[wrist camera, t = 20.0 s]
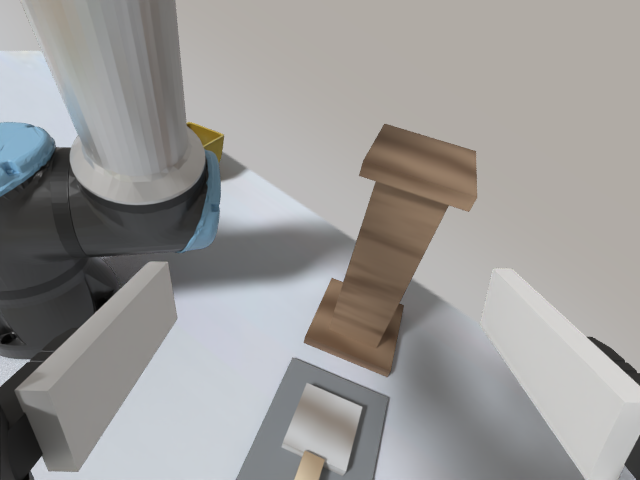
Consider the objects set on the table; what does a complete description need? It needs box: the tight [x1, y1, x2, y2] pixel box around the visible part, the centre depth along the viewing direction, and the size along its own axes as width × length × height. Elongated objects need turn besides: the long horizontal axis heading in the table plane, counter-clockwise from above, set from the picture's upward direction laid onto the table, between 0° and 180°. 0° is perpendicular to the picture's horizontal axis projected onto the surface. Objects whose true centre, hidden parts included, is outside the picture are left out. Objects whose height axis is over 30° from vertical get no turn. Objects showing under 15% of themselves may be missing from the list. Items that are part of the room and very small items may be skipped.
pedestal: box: [304, 124, 477, 377], centre depth 42 cm, size 12×12×28 cm
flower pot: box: [186, 122, 224, 162], centre depth 71 cm, size 9×9×9 cm
